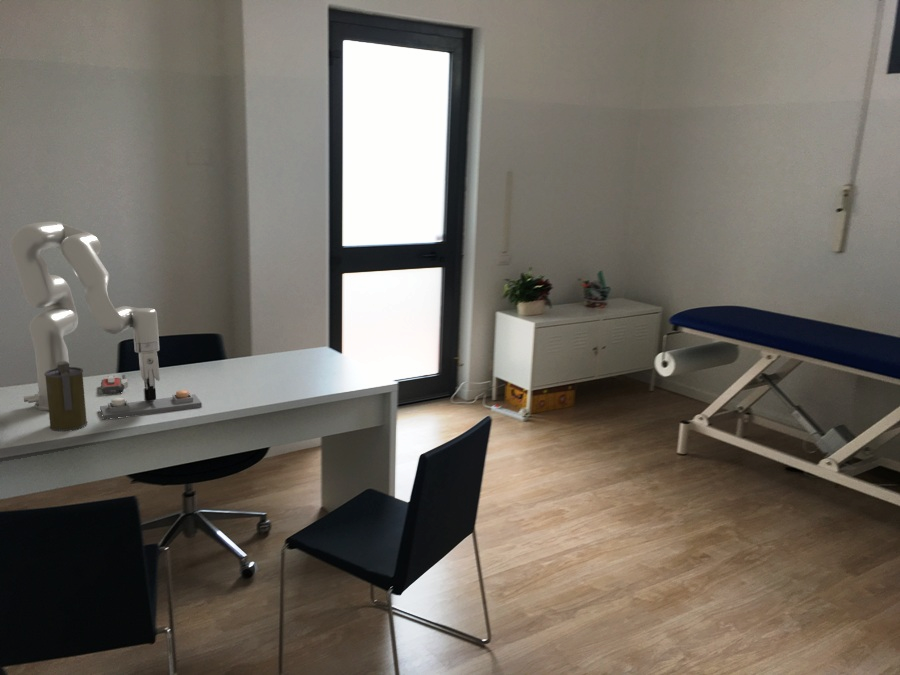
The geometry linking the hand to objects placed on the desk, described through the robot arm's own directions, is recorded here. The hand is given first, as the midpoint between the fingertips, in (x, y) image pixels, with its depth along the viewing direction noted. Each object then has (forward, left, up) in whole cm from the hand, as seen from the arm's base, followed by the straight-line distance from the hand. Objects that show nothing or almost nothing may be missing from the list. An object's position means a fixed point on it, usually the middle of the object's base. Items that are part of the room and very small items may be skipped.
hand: (150, 399), depth 244 cm
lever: (0, +3, -1) cm, 3 cm away
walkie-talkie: (-8, +30, -4) cm, 31 cm away
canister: (-25, -7, -3) cm, 26 cm away
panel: (0, -1, -3) cm, 3 cm away
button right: (+10, -1, 0) cm, 10 cm away
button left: (-10, -1, 0) cm, 10 cm away
